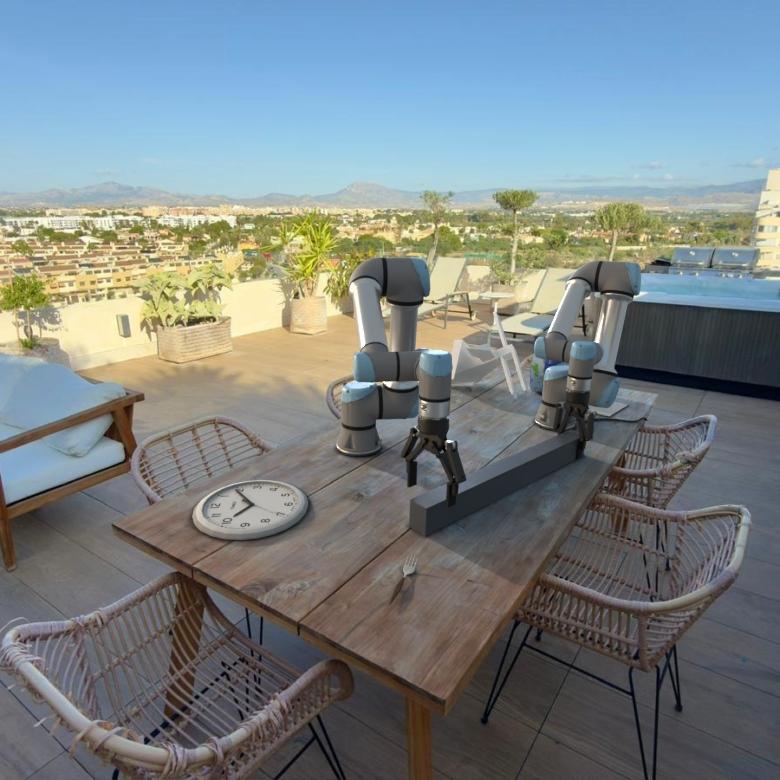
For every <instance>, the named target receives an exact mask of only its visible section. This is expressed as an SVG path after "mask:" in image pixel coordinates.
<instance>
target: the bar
mask: <svg viewBox="0 0 780 780" xmlns="http://www.w3.org/2000/svg"><path fill="white" fill-rule="evenodd" d="M578 440H580V435H579V431H577V430H574V429H572V430H568V431H565V432H564V433H562V434H559V435H558V434H557V435H555V436H553V437H550V438H548V439H545V440H543V441H541V442H538V443H536V444H534V445H532V446H530V447H528V448H525V449H523V450H520V451H517V452H516V453H514V454H511V455H509V456H507V457H504V458H502V459H500V460H498V461H495V462H493V463H491V464H488V465H486V466H484V467H482V468H479V469H477V470H475V471H473V472H470V473H468V474H465V476H466V481H464V482H462V483H460V484H459V489H458V494H457V495H456V505H453V506H451V507H449V508H447V507H446V492H447V483H445V484H442V485H439V486H437V487H435V488H434V489H431V490H428V491H426V492H424V493H421V494H420V495H417V496H415V497H412V498H410V499H409V523H408V526H409V528H410V529H412V530H414V531H416V532H417V533H418V534H420V535H422V536H424V537H427V536H429V535H431V534H433V533H435V532H437V531H438V530H440V529H442V528H445V527H447V526H449V525H450V524H452V523H455V522H457V521H459V520H460V519H462V518H464V517H466V516H469V515H470V514H472V513H474V512H476V511H478V510H480V509H482V508H484V507H486V506H488V505H490V504H492V503H494V502H496V501H498V500H499V499H501V498H504V497H505V496H508V495H510V494H511V493H513V492H515V491H517V490H519V489H521V488H523V487H525V486H527V485H529V484H531V483H533V482H534V481H535V482H536V481H537V480H539V479H541V478H543V477H544V476H547V475H549V474H550V473H551V474H552V472H554V471H557V470H558V469H561V468H563V467H565V466H566V465H568V464H570V463H573V462H574V461H576V460H577V459H575V458H576V451H577V443H578ZM584 456H585V450H583V452H582V457H584Z"/></svg>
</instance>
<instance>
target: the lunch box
mask: <svg viewBox="0 0 780 780" xmlns="http://www.w3.org/2000/svg"><path fill="white" fill-rule="evenodd" d="M563 365H567V366H569V363H566V362H560V361H553V360H545V359H540V358H537V357H536V356H535V355H534V354H533V356H532V358H531V363H530V374H529V391H532V392H536V393H540V394H542V391H543V382H544V381H543V379H544V375H545V371H546V369H548V368H550V367H553V366H563Z"/></svg>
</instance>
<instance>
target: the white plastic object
mask: <svg viewBox="0 0 780 780" xmlns="http://www.w3.org/2000/svg"><path fill="white" fill-rule="evenodd" d="M492 315H493V319H494V321H495V324H496V325H495V326H496V328H497V332H498V335H499V338H500V342H501V345H502V347H500V348H498V349H496V350H495V349H493V348H492V347H491V346H490V344H489V343H488V342H487V343H483V344H479V345H473V346H469V345H468V343H466V342H465V340H464V339H463V338H460V339H458V338H454V340H453V344H452V349H451V353H450V354H451V355H452V366H453V369H452V378H451V385H458V384H467V383H468V384H469V383H473V384H477V383H480V382H482V381H484V378H485V377H486V376H487V375H489V374H490V373H492V372H494V371H495V370H496V369H497V368H499V367H500V366H502V370H503V373H504V376H505V380H506V383H507V386H508V390H509V393H510V394H511V395H512V397H513V398H514V399H515V400H517V392H516V391H517V390H516V388H515V385H514V381H513V378H512V375H511V371H510V369H509V365H508V361H510V360H513V363H514V366H515V369H516V372H517V376H518V380H519V382H520V385H521V389H522V391H523V393H524V395H525V396H526V397H528V396H531V395H530V389H529V388H528V387H529V386H528V384H527V381H526V378H525V375H524V371H523V369H522V368H523V367H522V366H521V362H520V359H519V355H518V352H517V349H516V347H515V346H514V345H513V343H511V344H508V341H507V337H506V334H505V331H504V328H503V325H502V321H501V318H500V315H499V314H498V312H497V311H496V310H495V311H492Z"/></svg>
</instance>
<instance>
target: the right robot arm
mask: <svg viewBox="0 0 780 780" xmlns="http://www.w3.org/2000/svg"><path fill="white" fill-rule="evenodd" d="M641 286H642V269H641V265H640V264H639V263H638V262H631V261H614V260H613V261H611V260H592V261H589V262H587V263H585V264H582V265H581V266H579V268H577V269H576V270H575V271H574V272H573V273H572V274H571V275H570V276H569V278H568V279H567V281H566V283H565V286H564V290H565V293H564V295H563V297H562V299H561V301H560V304H559V306H558V308H557V310H556V312H555V315H554V317H553V320H552V321H551V324H550V325H549V328H548V330H547V333H546V335H545V336H538V337H537V338H536V340H535V342H534V346H533V355H535V356H536V357H537V358H540V359H545V360H553V361H560V362H566V363H569V366H567V365H563V366H553V367H550V368H548V369H546V371H545V375H544V379H543V381H544V382H543V391H542V393H541V402H540V405H539V407H538V410H537V411H536V413H535V417H534V424H535V425H536V426H537V427H539V428H542V429H544V430H549V431H555V432H556V433H557V435H559V434H562V433H564V432H566V431H569V430H574V429H575V428H576V422H577V428H578V432H579V435H580V440H578V443H577V451H576V458H575V459H576V460H579V459H581V458H582V457H583V456H582V452H583V450H584V451H585V450H586V447H587V442H590V441H592V440H593V439H594V431H595V430H594V429H595V428H594V427H595V421H610V422H611V421H612V422H622V423H633V424H635V423H639V422H641V421H643V420H644V421H646V422H648V419H647V417H645V416H643V417H640V418H638V419H636V420H635V419H634V420H630V419H621V418H610V417H608V418H606V417H596V416H597V415H598V414H597V412H596V411H594V412H593V411H591V410H590V409H589V407H588V405H590V406H595V407H602V408H609V407H610V406H611V405H612V404H613V403H614V402H616V401H615V400H616V399H617V396H618V394H619V390H620V385H621V378H619V377H618V371H617V370H616V369H615V366H616V362H617V356H618V352H619V347H620V342H621V339H622V338H621V337H622V332H623V327H624V323H625V320H626V314H627V309H628V306H629V304H631V303H632V302H633V301H634V299H635V297H637V296H639V295H640V293H641V288H642V287H641ZM592 293H598V294H599V298H600V299H601V301H602V304H601V307H600V314H599V317H598V322H597V328H596V331H595V336H594V340H593V341H587V340H578V341H574V340H570V336H571V334H572V331H573V329H574V327H575V324H576V322H577V320H578V318H579V316H580V313H581V310H582V308H583V306H584V303H585V301H586V299H587V298H589V297H590V296H591V294H592ZM586 417H587V419H586Z"/></svg>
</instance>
